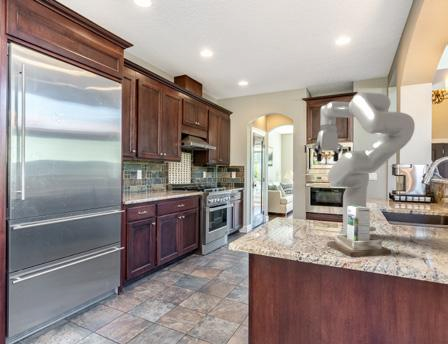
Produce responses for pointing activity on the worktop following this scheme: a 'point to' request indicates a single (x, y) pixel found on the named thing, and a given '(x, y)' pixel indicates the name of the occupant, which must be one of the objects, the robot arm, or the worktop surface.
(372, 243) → the collar board
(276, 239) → the worktop surface
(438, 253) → the worktop surface
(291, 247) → the worktop surface
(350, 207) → the syrup box
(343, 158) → the robot arm
